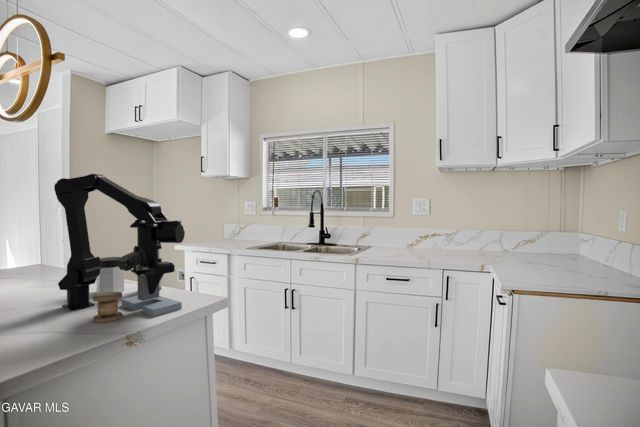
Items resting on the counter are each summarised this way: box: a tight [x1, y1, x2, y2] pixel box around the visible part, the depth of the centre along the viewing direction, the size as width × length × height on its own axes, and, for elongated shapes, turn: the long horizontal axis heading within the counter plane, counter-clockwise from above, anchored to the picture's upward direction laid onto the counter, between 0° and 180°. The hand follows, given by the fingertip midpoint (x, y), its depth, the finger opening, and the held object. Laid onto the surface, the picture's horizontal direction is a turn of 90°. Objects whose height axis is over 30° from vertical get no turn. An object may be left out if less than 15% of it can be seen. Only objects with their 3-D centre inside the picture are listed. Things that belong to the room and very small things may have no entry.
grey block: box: [137, 274, 160, 301], centre depth 105 cm, size 3×5×8 cm, turn 146°
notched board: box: [120, 295, 183, 318], centre depth 106 cm, size 18×9×2 cm, turn 56°
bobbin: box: [92, 292, 123, 324], centre depth 96 cm, size 7×7×7 cm
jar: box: [95, 256, 125, 294], centre depth 124 cm, size 9×8×12 cm
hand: (148, 293), depth 105 cm, fingers closed on grey block, 3 cm apart
